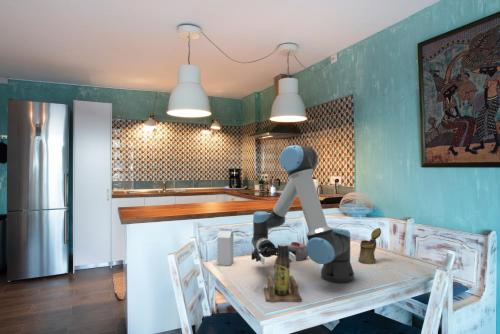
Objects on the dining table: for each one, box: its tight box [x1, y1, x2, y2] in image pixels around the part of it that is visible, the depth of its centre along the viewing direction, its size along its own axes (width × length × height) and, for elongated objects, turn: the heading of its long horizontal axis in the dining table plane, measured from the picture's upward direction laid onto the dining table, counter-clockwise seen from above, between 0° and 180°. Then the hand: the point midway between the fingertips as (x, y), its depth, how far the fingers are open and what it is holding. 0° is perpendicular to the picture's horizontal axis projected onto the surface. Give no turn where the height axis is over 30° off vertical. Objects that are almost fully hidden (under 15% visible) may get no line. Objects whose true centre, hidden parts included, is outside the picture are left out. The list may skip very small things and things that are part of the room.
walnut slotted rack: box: [263, 275, 303, 303], centre depth 131 cm, size 14×12×6 cm
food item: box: [287, 241, 309, 262], centre depth 182 cm, size 14×8×10 cm, turn 118°
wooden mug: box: [357, 227, 382, 265], centre depth 178 cm, size 9×14×18 cm, turn 111°
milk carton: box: [216, 228, 234, 267], centre depth 174 cm, size 7×7×19 cm
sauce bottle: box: [273, 243, 291, 295], centre depth 131 cm, size 6×6×20 cm
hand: (279, 260), depth 133 cm, fingers open, 13 cm apart
